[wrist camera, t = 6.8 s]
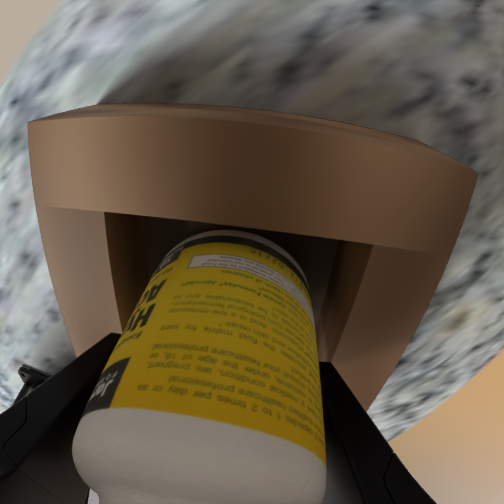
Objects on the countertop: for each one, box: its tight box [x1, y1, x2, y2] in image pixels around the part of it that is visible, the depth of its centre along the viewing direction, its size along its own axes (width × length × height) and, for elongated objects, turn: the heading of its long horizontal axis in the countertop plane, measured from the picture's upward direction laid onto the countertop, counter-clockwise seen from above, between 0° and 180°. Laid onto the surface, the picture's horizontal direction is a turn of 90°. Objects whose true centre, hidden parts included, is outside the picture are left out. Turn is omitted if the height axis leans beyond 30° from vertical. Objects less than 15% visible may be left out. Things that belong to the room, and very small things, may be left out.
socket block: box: [27, 103, 478, 411], centre depth 11 cm, size 12×12×4 cm
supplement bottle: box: [72, 230, 327, 504], centre depth 7 cm, size 5×5×10 cm
